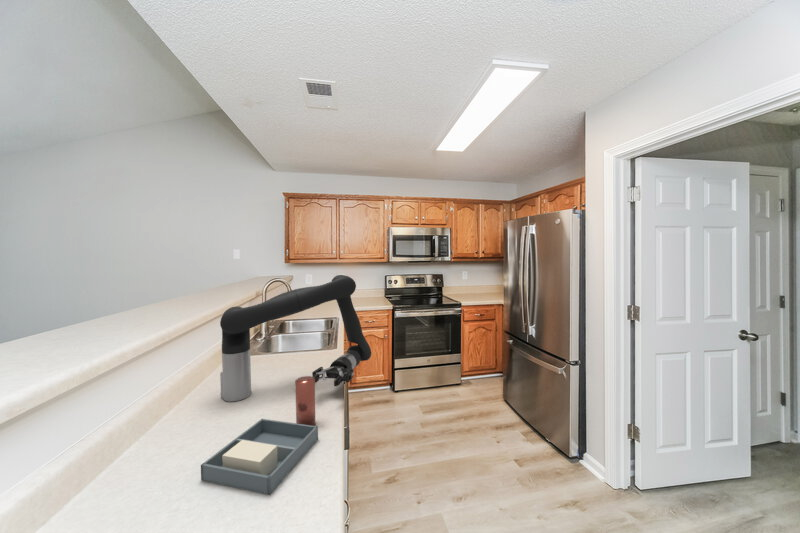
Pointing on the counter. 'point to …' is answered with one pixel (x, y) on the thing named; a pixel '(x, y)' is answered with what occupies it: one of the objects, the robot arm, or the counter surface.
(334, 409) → the counter surface
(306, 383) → the copper cylinder
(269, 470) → the cream block
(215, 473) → the tray
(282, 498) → the counter surface
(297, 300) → the robot arm
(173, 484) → the counter surface
